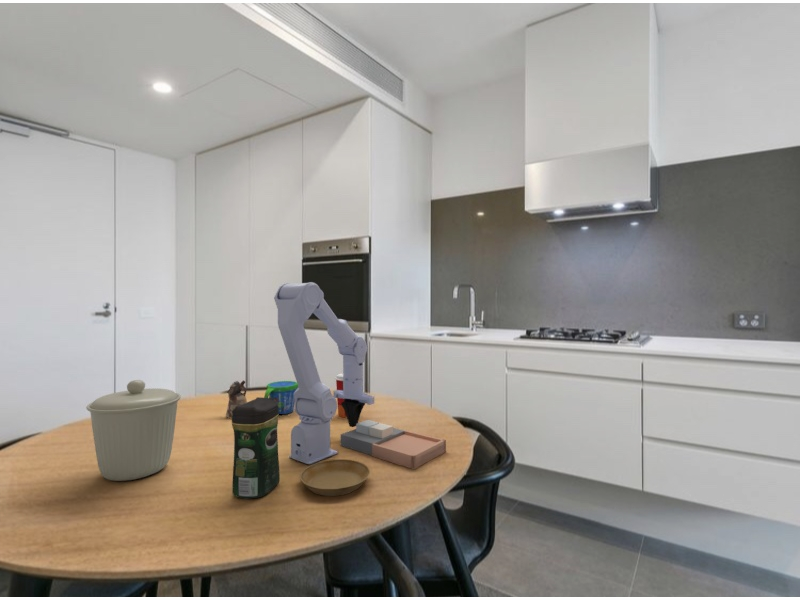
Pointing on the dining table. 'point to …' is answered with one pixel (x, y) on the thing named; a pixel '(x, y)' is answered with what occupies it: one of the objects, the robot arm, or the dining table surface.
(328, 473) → the plant saucer
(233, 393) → the figurine
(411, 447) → the terracotta tray
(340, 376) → the paper cup
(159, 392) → the canister
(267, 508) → the dining table surface
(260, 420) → the coffee jar
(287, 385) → the snack cup
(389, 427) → the cream tile
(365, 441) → the charcoal board
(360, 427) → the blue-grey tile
